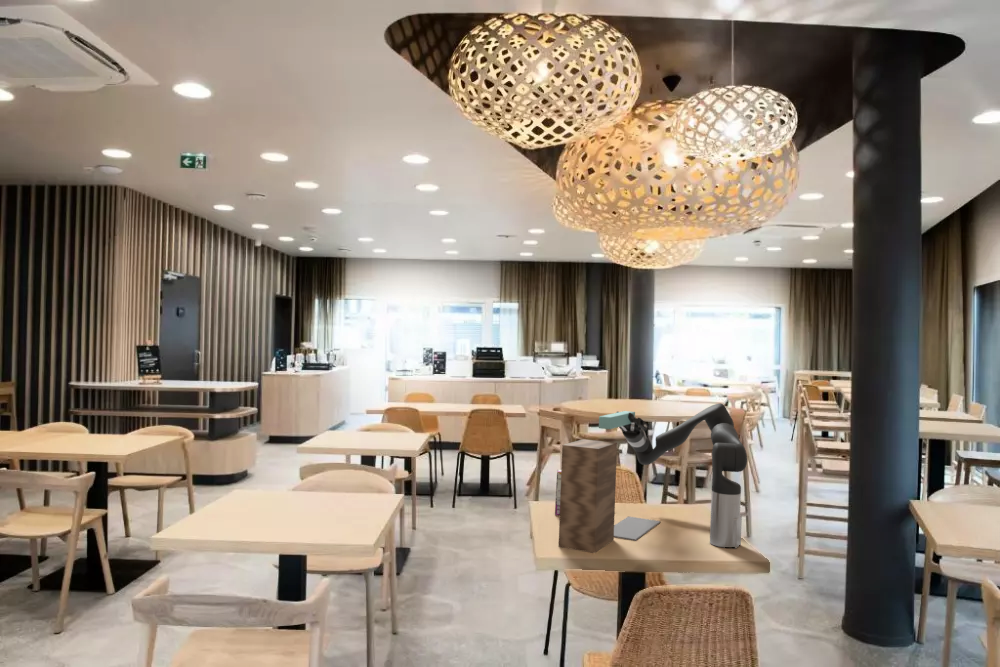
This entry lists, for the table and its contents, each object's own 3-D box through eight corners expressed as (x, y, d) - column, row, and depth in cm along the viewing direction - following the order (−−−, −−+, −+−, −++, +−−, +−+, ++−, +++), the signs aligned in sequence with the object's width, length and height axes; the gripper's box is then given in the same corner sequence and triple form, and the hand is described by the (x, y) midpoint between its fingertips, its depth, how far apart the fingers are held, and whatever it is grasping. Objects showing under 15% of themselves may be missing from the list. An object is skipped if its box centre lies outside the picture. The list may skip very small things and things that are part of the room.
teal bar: (634, 422, 269) (635, 411, 269) (609, 429, 245) (610, 417, 245) (624, 421, 271) (624, 411, 271) (598, 428, 246) (599, 416, 246)
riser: (613, 539, 239) (617, 442, 239) (594, 552, 223) (598, 448, 223) (579, 534, 244) (583, 439, 245) (558, 546, 228) (562, 444, 229)
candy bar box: (554, 515, 270) (556, 471, 270) (555, 512, 275) (556, 469, 275) (585, 517, 269) (586, 473, 269) (584, 514, 274) (586, 470, 274)
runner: (660, 522, 265) (660, 521, 265) (635, 540, 239) (635, 539, 239) (628, 517, 271) (628, 516, 271) (601, 535, 244) (601, 533, 244)
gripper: (651, 445, 271) (640, 425, 258) (614, 441, 278) (602, 422, 265) (654, 426, 275) (644, 406, 262) (618, 423, 281) (606, 403, 268)
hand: (623, 414), depth 263 cm, fingers closed on teal bar, 4 cm apart
